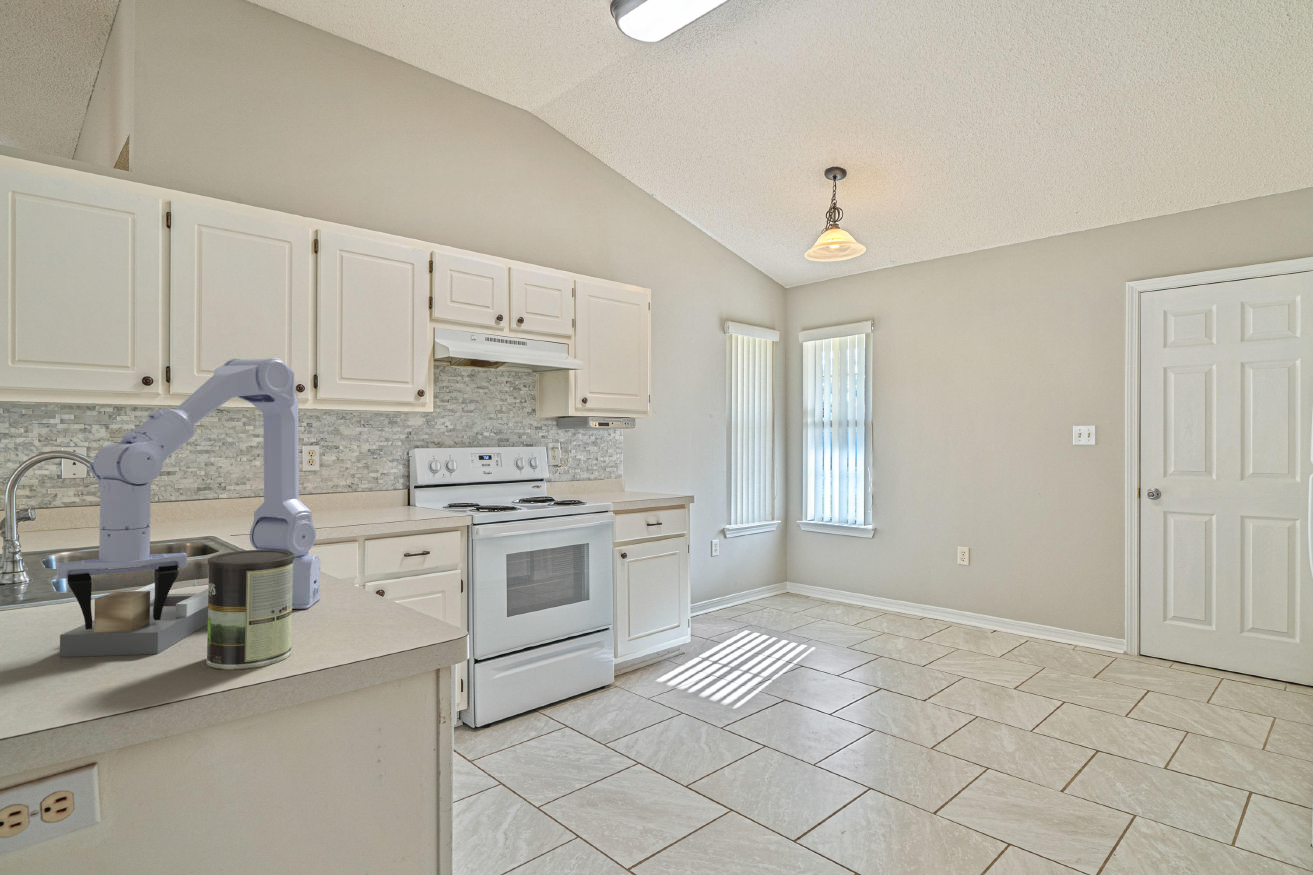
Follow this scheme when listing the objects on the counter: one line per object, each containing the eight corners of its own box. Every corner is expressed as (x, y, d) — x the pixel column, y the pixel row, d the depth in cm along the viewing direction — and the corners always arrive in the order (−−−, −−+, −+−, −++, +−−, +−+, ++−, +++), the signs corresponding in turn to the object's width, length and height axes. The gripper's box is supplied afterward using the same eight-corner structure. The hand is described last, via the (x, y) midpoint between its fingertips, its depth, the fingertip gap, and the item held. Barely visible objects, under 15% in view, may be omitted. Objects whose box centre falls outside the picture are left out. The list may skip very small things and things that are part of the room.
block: (149, 622, 101) (150, 590, 101) (131, 631, 96) (131, 598, 96) (114, 623, 100) (114, 591, 100) (94, 632, 95) (94, 599, 95)
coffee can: (198, 674, 89) (200, 564, 88) (214, 650, 98) (215, 551, 98) (289, 665, 93) (291, 560, 93) (295, 643, 102) (297, 547, 102)
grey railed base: (232, 609, 120) (232, 581, 120) (157, 653, 96) (158, 617, 96) (155, 611, 118) (155, 582, 118) (59, 657, 94) (60, 620, 94)
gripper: (182, 521, 106) (181, 609, 106) (57, 528, 96) (55, 625, 96) (189, 526, 101) (188, 619, 101) (57, 534, 91) (56, 637, 91)
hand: (123, 623), depth 98 cm, fingers open, 7 cm apart
